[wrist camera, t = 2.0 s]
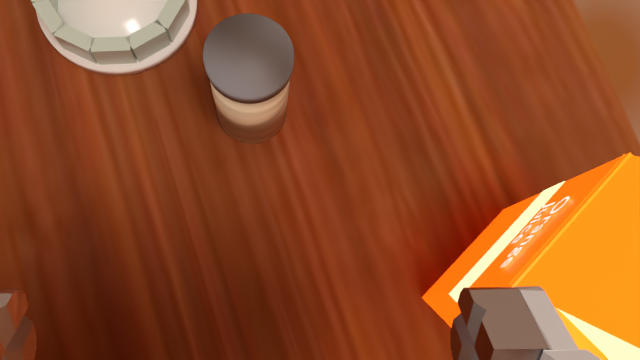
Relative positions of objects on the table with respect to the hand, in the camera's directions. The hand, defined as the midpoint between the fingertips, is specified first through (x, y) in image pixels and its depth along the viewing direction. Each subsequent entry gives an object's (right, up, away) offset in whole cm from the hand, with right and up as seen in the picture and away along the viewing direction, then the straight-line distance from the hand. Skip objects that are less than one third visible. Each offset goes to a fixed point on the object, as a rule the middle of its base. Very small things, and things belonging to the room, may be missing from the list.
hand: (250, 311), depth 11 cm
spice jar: (-3, +7, +30) cm, 31 cm away
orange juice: (+14, -5, +29) cm, 32 cm away
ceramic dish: (-13, +15, +31) cm, 37 cm away
